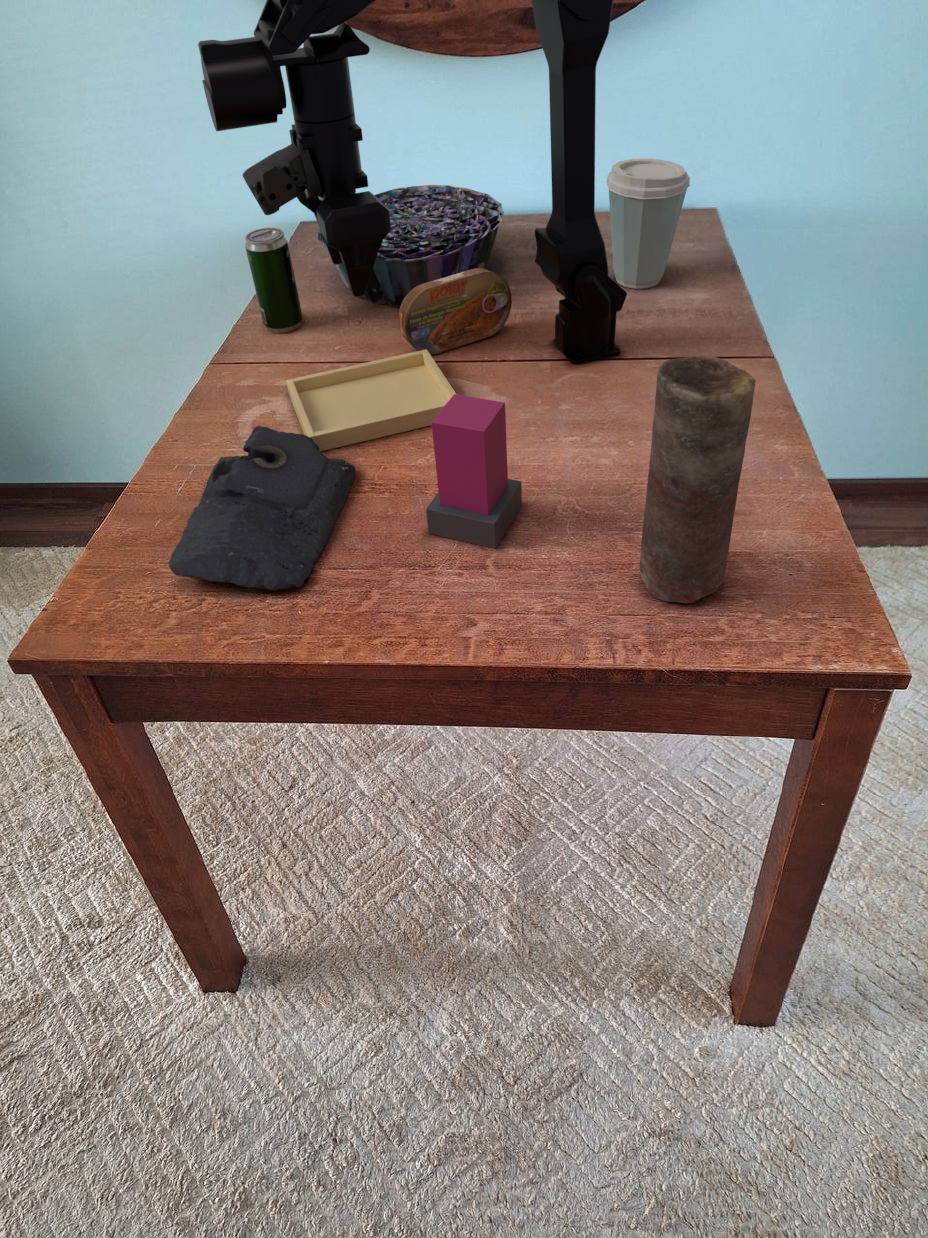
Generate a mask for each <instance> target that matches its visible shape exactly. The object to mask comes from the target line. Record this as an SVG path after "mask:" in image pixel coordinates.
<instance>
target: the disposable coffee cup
mask: <svg viewBox="0 0 928 1238" xmlns="http://www.w3.org/2000/svg"><path fill="white" fill-rule="evenodd" d="M690 179H691V177H690V176H689V174H688V172H687V171H686V169H685V168H684V166H683V165H680V164H678V163H676V162H673V161H671V160H665V159H664V160H663V159H658V158H657V159H656V158H631V159H625V160H620V161H618V162H616V163H615V164H613V165H612V166H611V171H610V172H609V173H608V174H607V176H606V181H605V184H606V186H607V190H608V201H609V203H608V204H609V217H610V234H611V247H612V249H611V250H612V263H613V265H612V266H613V274H614V277H615V280H616V283H617V284H618V285H620V286H622V287H623V288H630V289H634V290H641V289H650V288H653V287H655V286H657V285H658V284H659V283H660V282H661V281H662V278H663V277H664V274H665V271H666V268H667V264H668V260H669V256H670V254H671V253H670V252H671V249H672V245H673V242H674V238H675V235H676V231H677V228H678V227H677V226H678V223H679V219H680V215H681V212H682V208H683V204H684V201H685V197H686V194H687V190H688V189H689V187H691V184H690V181H691V180H690Z"/></svg>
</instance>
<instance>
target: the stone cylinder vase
mask: <svg viewBox="0 0 928 1238" xmlns="http://www.w3.org/2000/svg"><path fill="white" fill-rule="evenodd" d="M756 384H757V381H756V379H755V378H754V377H753V375H751V374H750V372H747V371H746V369H741V368H738V366H736V365H735V364H732V363H730V362H728V361H727V360H726V359H723V358H719V357H718V356H712V355H708V356H707V355H705V356H704V355H703V356H702V355H699V356H694V355H693V356H683V357H679V358H670V359H667V360H665V361H663V362H662V363H661V364H660V365H659V367H658V370H657V374H656V385H655V397H654V409H653V420H652V431H651V443H650V444H651V445H650V453H649V465H648V466H649V467H648V475H647V484H646V495H645V504H644V514H643V523H642V534H641V543H640V557H639V574H640V577H641V579H642V581H643V583H644V585H645V587H646V589H647V590H648V593H649V594H650V595H651V596H653V597H654V598H656V599H658V600H661V601H663V602H669V603H670V602H671V603H680V604H681V603H682V604H691V603H695V602H696V601H698V600H700V599H701V598H705V597H707V596H708V595H711V594H713V593H715V592H716V591H718V589H719V588H720V586H722V585H723V581H724V578H725V574H726V568H727V562H728V557H729V550H730V544H731V539H732V538H731V537H732V531H733V525H734V518H735V510H736V504H737V499H738V492H739V486H740V481H741V480H740V479H741V474H742V470H743V464H744V457H745V453H746V445H747V438H748V433H749V430H750V429H749V428H750V423H751V417H752V409H753V404H754V395H755V390H756Z"/></svg>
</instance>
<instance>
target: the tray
mask: <svg viewBox="0 0 928 1238" xmlns="http://www.w3.org/2000/svg"><path fill="white" fill-rule="evenodd" d="M285 381H286V382H285V383H286V387H287V391H288V396H289V399H290V401H291V404H292V407H293V409H294V411H295V414H296V417H297V419H298V422H299V424H300V427H301V430H302V432H303V435H305V436H308V437H310V438H311V439H313V441H314V443H315V444H316V445H318V447H319V451H320V452H321V453H322V452H325V451H328V450H334V449H338V448H341V447H346V446H351V445H354V444H358V443H362V442H363V443H364V442H367V441H371V440H376V439H379V438H383V437H384V438H385V437H388V436H392V435H396V434H401V433H405V432H409V431H413V430H417V429H421V428H425V427H430V426H432V424H431V422H432V421H433V419H434V418H435V417H436V416H437V415H438V413H439V412H440V411H441V410H442V408H443V407H444V406H445V405H446V404H447V402H448V401H449V400H450V399H451V397H452V396H453V395H454V394H457V392H456V391H455V389H454V388H453V386H452V385H451V384H450V382H449V381H448V379H447V377H446V376H445V374H444V373H443V371H442V370H441V369H440V367H439V365H438V364H437V362H436V361H435V359H434V358H433V356H432V355H430V354H429V352H428V351H427V349H426V350H421V351H417V350H415V351H412V352H407V353H403V354H398V355H394V356H389V357H385V358H380V359H374V360H372V361H366V362H363V363H357V364H353V365H349V366H344V367H340V368H339V367H338V368H334V369H331V370H326V371H320V372H317V373H311V374H308V375H302V376H298V377H294V378H289V379H286V380H285Z"/></svg>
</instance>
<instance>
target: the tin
mask: <svg viewBox="0 0 928 1238" xmlns="http://www.w3.org/2000/svg"><path fill="white" fill-rule="evenodd" d="M512 305H513V298H512V291H511V288H510V285H509V283H508V282H507V280H506V279H505V278H504V277H503V276H502V275H501V274H499V273H496V272H494V271H492V270H489V269H487V268H486V269H483V268H475V269H471V270H467V271H464V272H460V273H457V274H454V275H451V276H447V277H444V278H441V279H437V280H434V281H430V282H427V283H423V284H421V285H418V286H416V287H415V288H413V289H412V290H411V291H410V292H409V293H408V294H407V295H406V297H405V298H404V300H403V302H402V304H401V306H399V310H398V326H399V327H398V328H399V330H400V333H401V335H402V337H403V338H404V339H405V341H406V342H407V343H408V344H409V345H410V346H411V347H412V348H413V349H414V350H415V351H421V350H426V349H427V351H428V352H429V354H430V355H431V356H432V355H438V354H441V353H444V352H447V351H451V350H453V349H456V348H460V347H462V346H466V345H468V344H472V343H475V342H478V341H481V340H485V339H487V338H490V337H492V336H494V335H495V334H496V333H497V332H499V331H500V330H501V329H502V328H503V326H505V324H506V322H507V321H508V318H509V316H510V313H511V309H512Z"/></svg>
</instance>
